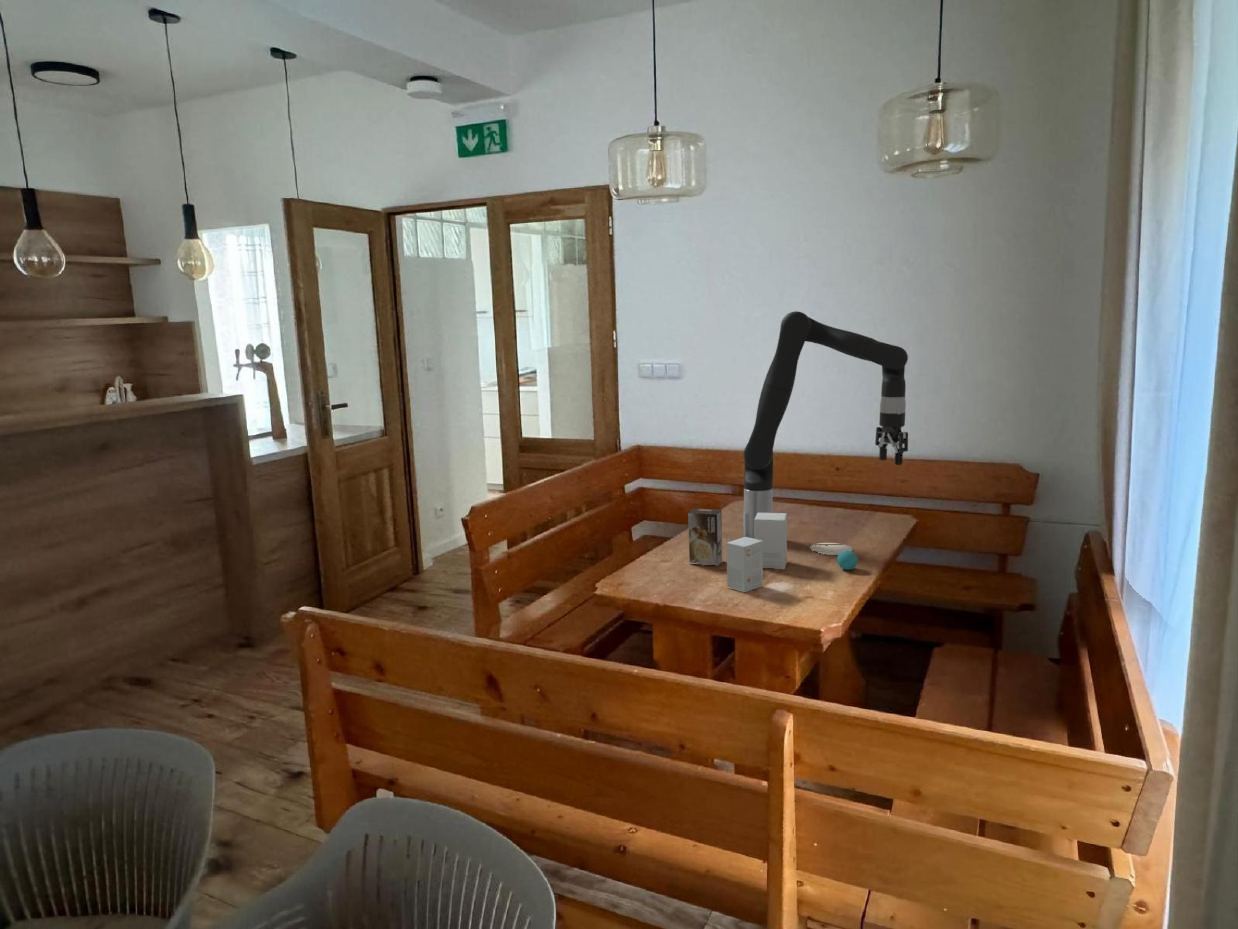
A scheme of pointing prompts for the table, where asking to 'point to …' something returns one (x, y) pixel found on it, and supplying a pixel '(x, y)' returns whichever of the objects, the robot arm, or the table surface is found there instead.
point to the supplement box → (772, 538)
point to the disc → (831, 548)
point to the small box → (745, 564)
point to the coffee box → (705, 536)
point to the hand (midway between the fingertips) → (890, 462)
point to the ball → (847, 560)
